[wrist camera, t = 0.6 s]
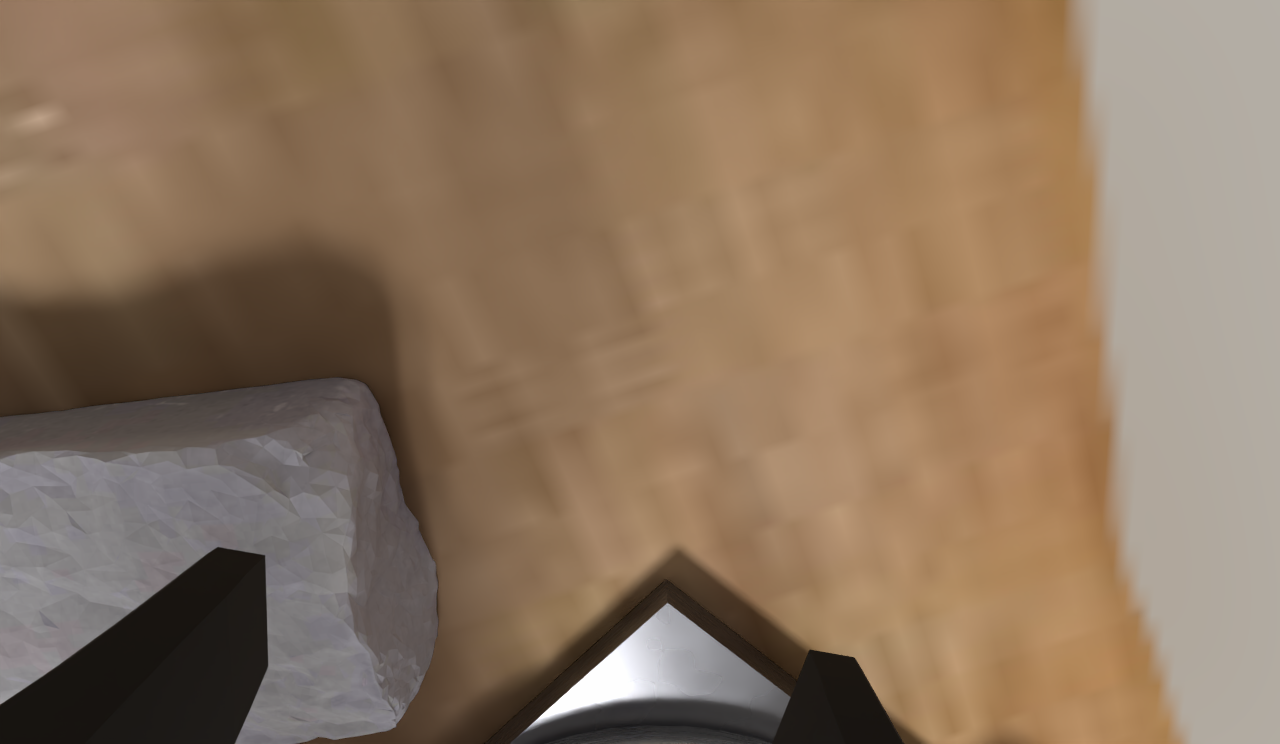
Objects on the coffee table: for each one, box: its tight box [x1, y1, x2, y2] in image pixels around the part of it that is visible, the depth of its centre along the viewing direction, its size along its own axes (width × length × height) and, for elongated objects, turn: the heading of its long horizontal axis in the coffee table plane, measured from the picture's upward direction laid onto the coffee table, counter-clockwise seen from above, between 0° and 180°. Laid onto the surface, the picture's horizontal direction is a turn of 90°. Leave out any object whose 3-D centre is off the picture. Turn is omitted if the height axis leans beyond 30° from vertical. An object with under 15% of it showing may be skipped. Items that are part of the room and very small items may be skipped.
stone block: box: [0, 377, 438, 744], centre depth 21 cm, size 12×5×10 cm
